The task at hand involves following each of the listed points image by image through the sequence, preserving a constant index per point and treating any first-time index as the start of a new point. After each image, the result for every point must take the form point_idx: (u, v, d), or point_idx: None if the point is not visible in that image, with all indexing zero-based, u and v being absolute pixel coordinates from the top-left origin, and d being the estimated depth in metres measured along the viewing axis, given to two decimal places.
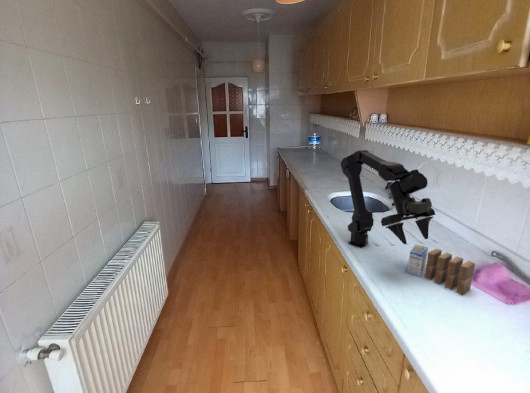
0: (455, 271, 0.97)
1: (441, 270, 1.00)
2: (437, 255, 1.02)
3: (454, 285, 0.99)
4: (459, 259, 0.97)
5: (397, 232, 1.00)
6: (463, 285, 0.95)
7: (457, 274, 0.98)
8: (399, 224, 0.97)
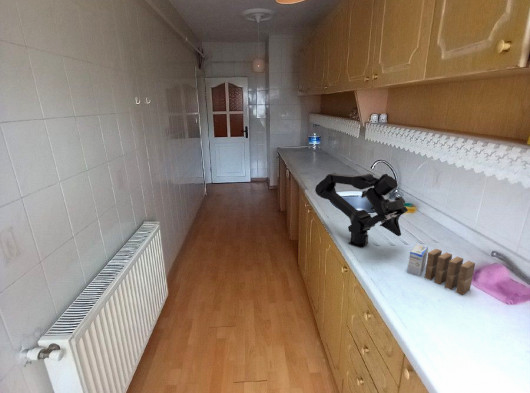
0: (455, 271, 0.97)
1: (441, 270, 1.00)
2: (437, 255, 1.02)
3: (454, 285, 0.99)
4: (459, 259, 0.97)
5: (390, 227, 1.15)
6: (463, 285, 0.95)
7: (457, 274, 0.98)
8: (391, 219, 1.12)
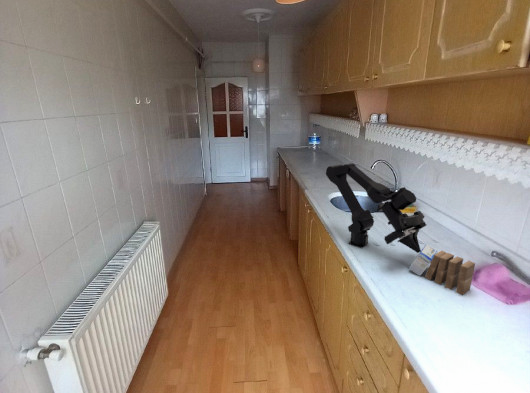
0: (455, 271, 0.97)
1: (442, 270, 0.99)
2: None
3: (454, 285, 0.99)
4: (459, 259, 0.97)
5: (409, 243, 1.09)
6: (463, 285, 0.95)
7: (457, 274, 0.98)
8: (410, 235, 1.07)
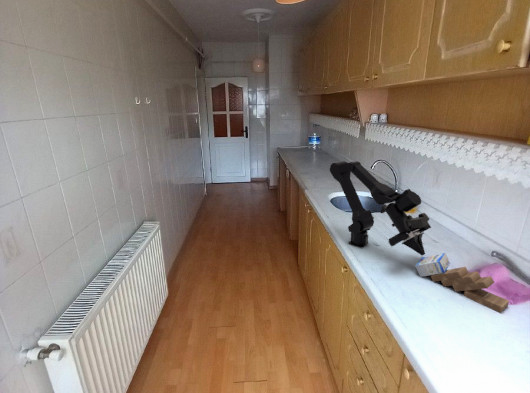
0: None
1: (459, 283, 0.96)
2: None
3: None
4: (491, 282, 0.91)
5: (413, 246, 1.08)
6: (476, 300, 0.92)
7: None
8: (415, 237, 1.06)
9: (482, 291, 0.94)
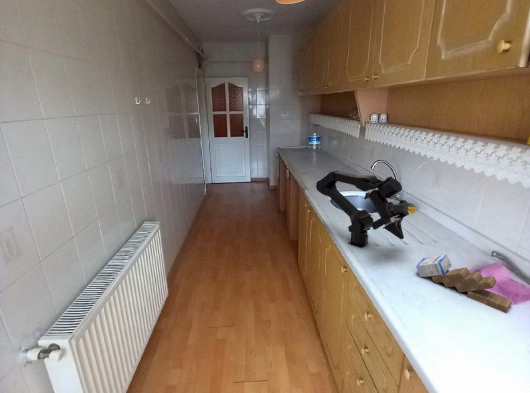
0: None
1: (461, 284, 0.95)
2: None
3: None
4: (494, 282, 0.91)
5: (393, 230, 1.14)
6: (480, 301, 0.92)
7: None
8: (395, 222, 1.12)
9: (485, 291, 0.94)
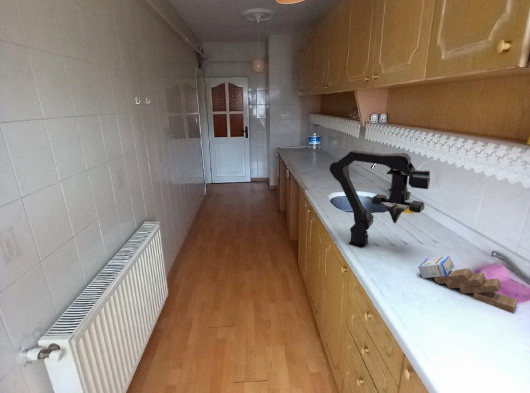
0: None
1: (465, 285, 0.95)
2: None
3: None
4: (499, 284, 0.91)
5: (399, 214, 1.18)
6: (486, 303, 0.91)
7: None
8: None
9: (489, 292, 0.94)
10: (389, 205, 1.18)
